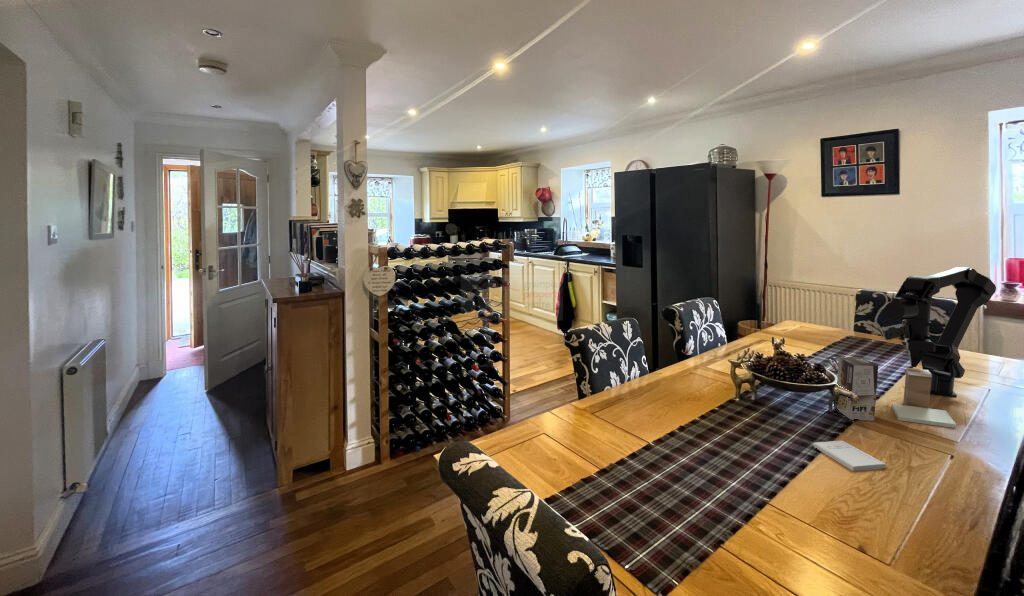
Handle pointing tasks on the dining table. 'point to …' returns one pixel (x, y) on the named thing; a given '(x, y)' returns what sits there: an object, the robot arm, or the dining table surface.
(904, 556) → the dining table surface
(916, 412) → the mat
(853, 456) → the external hard drive
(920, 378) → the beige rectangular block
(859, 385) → the coffee box
